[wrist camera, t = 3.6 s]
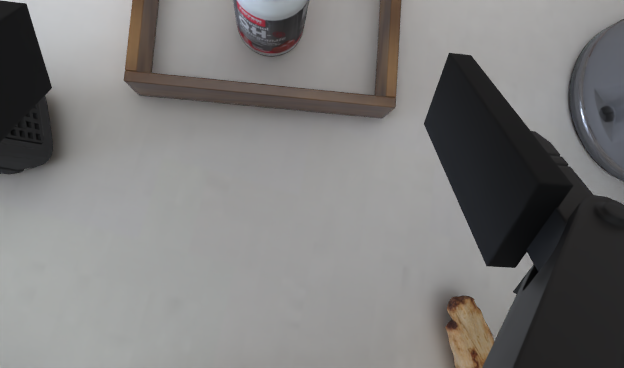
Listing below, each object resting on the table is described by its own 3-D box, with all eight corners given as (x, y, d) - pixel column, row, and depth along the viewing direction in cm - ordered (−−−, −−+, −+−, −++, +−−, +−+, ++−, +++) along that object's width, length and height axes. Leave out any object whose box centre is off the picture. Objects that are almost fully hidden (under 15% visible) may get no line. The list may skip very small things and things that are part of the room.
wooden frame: (382, 118, 34) (395, 107, 31) (138, 95, 32) (123, 80, 29) (391, -37, 35) (405, -65, 32) (156, -69, 33) (143, -102, 30)
